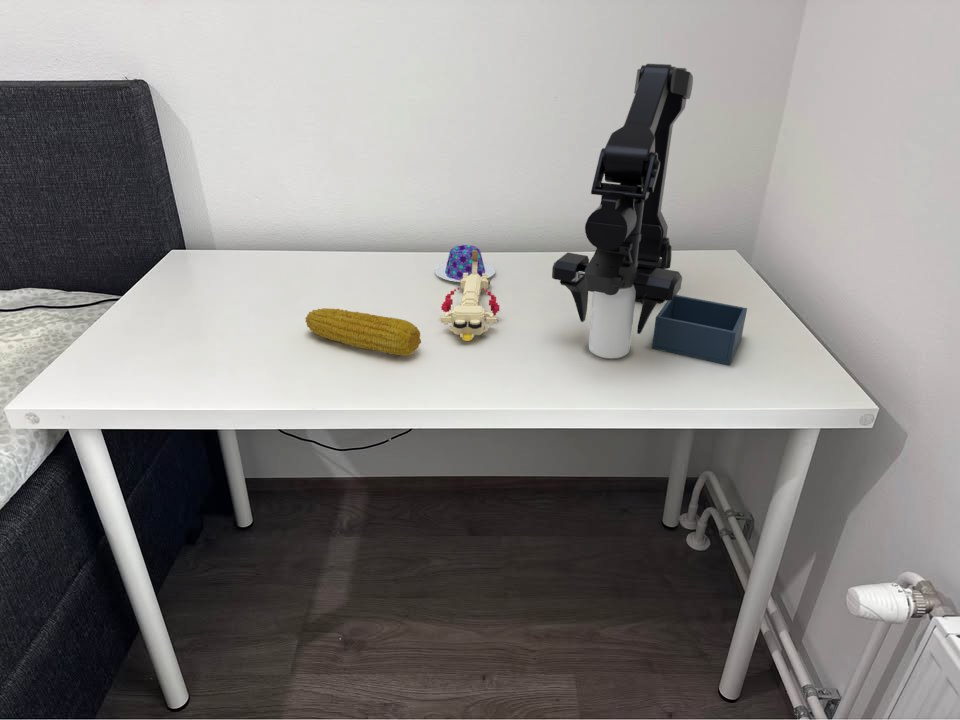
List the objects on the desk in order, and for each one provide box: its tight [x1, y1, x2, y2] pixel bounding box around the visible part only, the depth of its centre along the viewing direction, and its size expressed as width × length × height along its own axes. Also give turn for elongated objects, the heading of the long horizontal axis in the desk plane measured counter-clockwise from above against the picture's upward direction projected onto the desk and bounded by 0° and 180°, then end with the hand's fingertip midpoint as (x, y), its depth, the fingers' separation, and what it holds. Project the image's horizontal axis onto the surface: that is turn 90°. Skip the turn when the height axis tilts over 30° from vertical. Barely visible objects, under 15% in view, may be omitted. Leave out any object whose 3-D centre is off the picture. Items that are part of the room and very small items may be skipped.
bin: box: [651, 294, 748, 366], centre depth 114 cm, size 12×10×6 cm
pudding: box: [434, 244, 496, 283], centre depth 140 cm, size 12×12×5 cm
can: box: [588, 285, 636, 360], centre depth 110 cm, size 6×6×12 cm
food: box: [304, 307, 422, 356], centre depth 113 cm, size 21×6×6 cm, turn 65°
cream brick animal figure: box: [440, 251, 501, 342], centre depth 123 cm, size 10×9×25 cm
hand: (610, 326), depth 111 cm, fingers open, 9 cm apart
